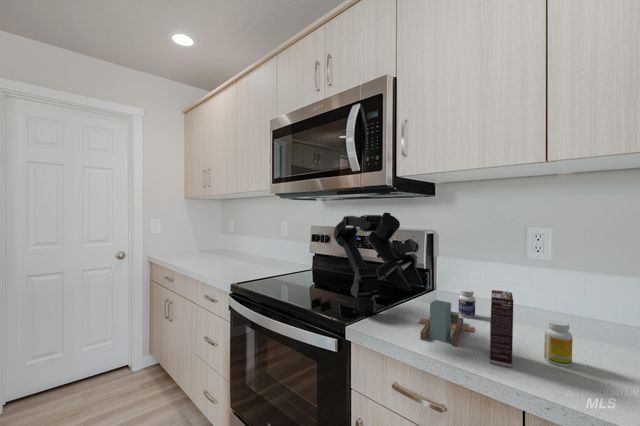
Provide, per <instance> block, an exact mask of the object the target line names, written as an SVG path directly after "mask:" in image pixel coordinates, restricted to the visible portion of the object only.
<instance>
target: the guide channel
mask: <svg viewBox="0 0 640 426" xmlns="http://www.w3.org/2000/svg"><path fill="white" fill-rule="evenodd" d="M418 324H423V325H424V326H423V328H422V329H421V331H420V338H419V339H420V340H422V341H425V340H426V339H427V337H428V336H429V335H430V317H429V318H428V319H427V318H420V319H419V320H418ZM451 330H454V331H453V334H452V336H451V347H452V346H453V347H457V346H458V342H459V340H460V336H461V333H462V332H467V333H468V332H469V333H474V331H475V327H474V326H469V325H464V317H460V315H459V313H458V311H452V310H451Z"/></svg>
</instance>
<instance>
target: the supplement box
mask: <svg viewBox="0 0 640 426" xmlns="http://www.w3.org/2000/svg"><path fill="white" fill-rule="evenodd" d="M490 298H491V300H490V301H491V304H490V326H489V327H490V328H489V331H490V332H489V363H490V364H492V365H493V364H494V365H497V366H502V367H506V368H513V335H514V334H513V333H514V332H513V331H514V299H513V292H510V291H503V290H496V289H495V290H494V289H491V297H490Z"/></svg>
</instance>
